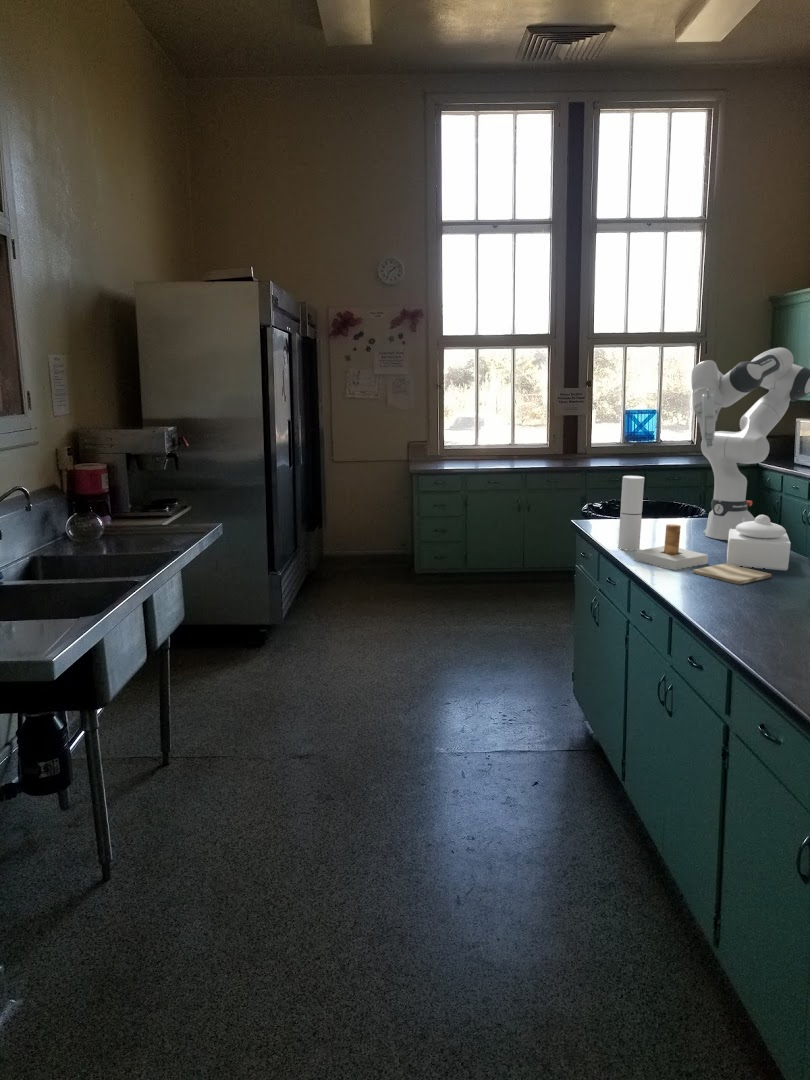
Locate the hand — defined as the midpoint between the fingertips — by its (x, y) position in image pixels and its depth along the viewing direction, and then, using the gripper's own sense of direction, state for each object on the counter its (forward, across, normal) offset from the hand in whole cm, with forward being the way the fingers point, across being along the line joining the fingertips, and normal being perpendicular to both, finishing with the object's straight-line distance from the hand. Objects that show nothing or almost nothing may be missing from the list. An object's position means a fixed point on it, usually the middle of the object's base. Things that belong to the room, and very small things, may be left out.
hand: (709, 439), depth 257 cm
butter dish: (+35, +22, -12) cm, 43 cm away
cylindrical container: (+27, +24, +28) cm, 46 cm away
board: (+46, +4, -3) cm, 46 cm away
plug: (+38, +12, +14) cm, 42 cm away
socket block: (+38, +12, +14) cm, 42 cm away
